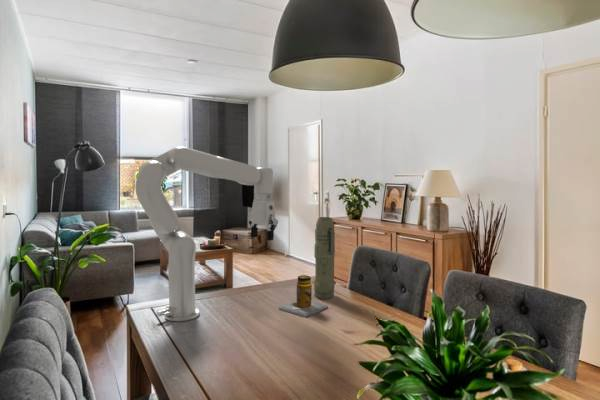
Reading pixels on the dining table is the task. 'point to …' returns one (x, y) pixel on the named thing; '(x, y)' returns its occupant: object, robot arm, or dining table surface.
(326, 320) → the dining table surface
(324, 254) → the thermos
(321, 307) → the plate
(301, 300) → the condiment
